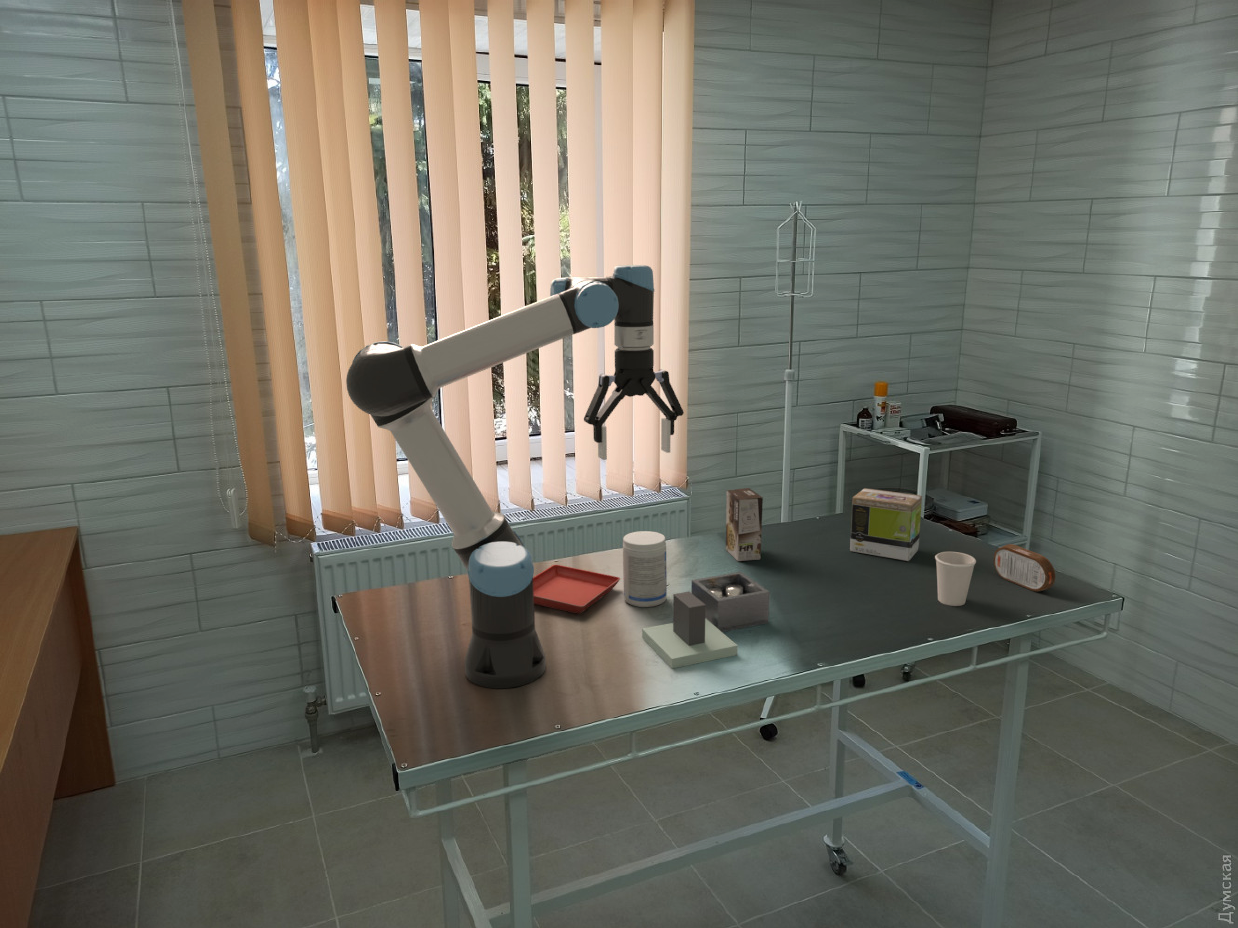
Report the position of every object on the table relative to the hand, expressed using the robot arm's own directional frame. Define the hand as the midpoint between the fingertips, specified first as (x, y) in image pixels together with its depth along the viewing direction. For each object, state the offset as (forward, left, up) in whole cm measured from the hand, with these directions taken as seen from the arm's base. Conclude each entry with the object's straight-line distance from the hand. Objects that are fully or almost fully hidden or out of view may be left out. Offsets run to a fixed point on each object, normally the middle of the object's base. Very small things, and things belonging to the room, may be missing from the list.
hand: (634, 454), depth 177 cm
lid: (+6, -13, -37) cm, 39 cm away
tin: (+90, -15, -37) cm, 98 cm away
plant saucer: (-8, +20, -37) cm, 43 cm away
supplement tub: (+7, +11, -37) cm, 39 cm away
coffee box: (+41, +27, -37) cm, 61 cm away
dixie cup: (+69, -16, -37) cm, 80 cm away
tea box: (+75, +15, -37) cm, 85 cm away
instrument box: (+20, -4, -37) cm, 42 cm away
